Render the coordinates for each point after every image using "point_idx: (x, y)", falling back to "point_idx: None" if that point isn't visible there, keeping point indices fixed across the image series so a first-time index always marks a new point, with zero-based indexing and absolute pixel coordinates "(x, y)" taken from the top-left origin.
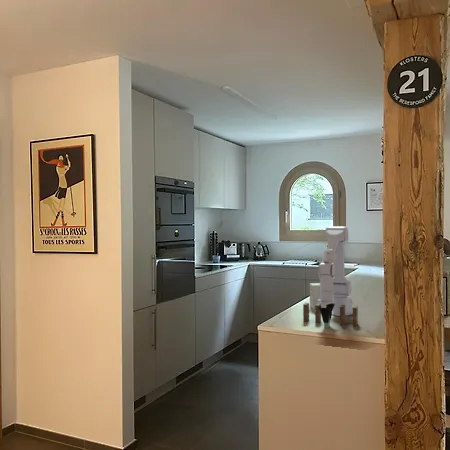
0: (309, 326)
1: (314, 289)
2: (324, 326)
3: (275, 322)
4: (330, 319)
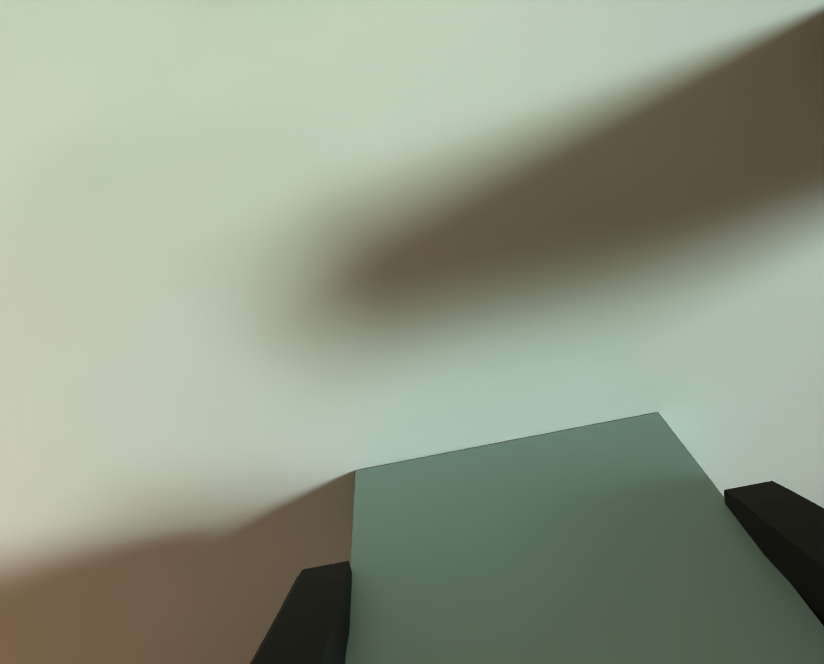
0: (276, 24)
1: None
2: (356, 502)
3: None
4: None
